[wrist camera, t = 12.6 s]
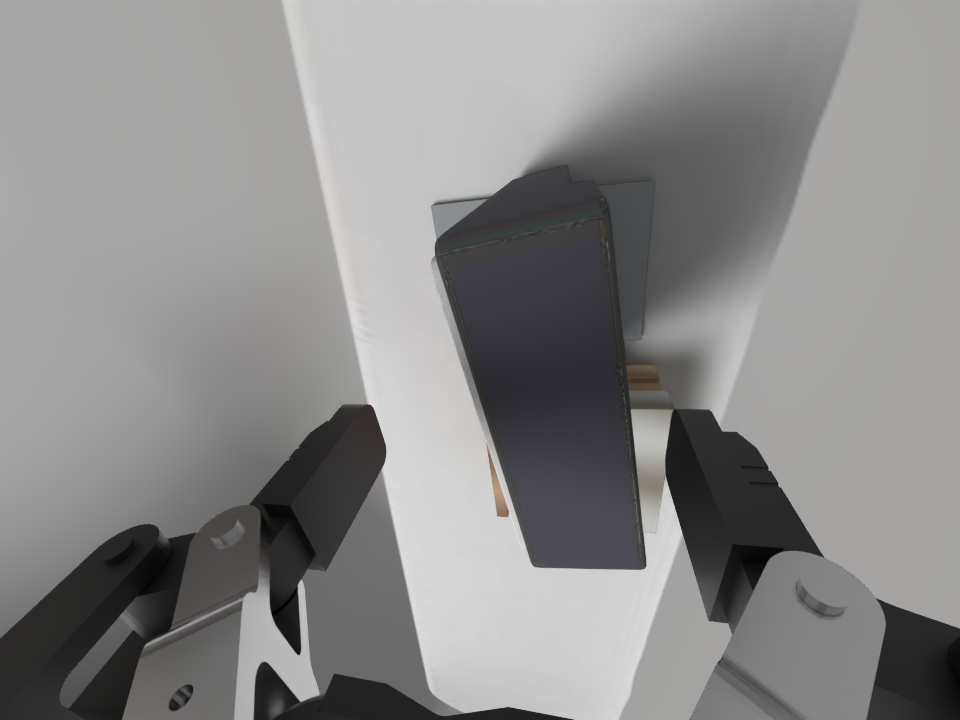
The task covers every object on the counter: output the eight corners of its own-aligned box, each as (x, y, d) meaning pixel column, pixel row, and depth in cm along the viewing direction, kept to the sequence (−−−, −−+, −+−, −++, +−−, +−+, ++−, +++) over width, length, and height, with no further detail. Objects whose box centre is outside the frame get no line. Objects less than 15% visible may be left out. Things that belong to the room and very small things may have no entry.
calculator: (498, 182, 21) (393, 249, 8) (579, 160, 19) (610, 196, 7) (537, 357, 26) (510, 574, 13) (603, 347, 24) (648, 577, 12)
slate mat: (432, 204, 22) (430, 205, 22) (653, 179, 20) (654, 180, 19) (456, 341, 27) (455, 344, 26) (639, 336, 24) (640, 339, 24)
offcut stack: (608, 360, 25) (618, 409, 21) (653, 359, 25) (675, 409, 20) (603, 476, 30) (610, 536, 26) (641, 477, 30) (655, 539, 25)
